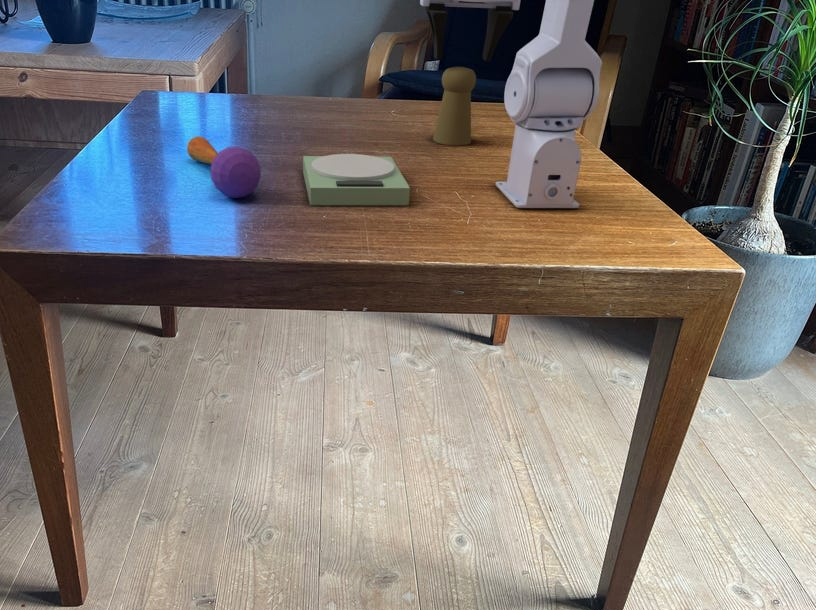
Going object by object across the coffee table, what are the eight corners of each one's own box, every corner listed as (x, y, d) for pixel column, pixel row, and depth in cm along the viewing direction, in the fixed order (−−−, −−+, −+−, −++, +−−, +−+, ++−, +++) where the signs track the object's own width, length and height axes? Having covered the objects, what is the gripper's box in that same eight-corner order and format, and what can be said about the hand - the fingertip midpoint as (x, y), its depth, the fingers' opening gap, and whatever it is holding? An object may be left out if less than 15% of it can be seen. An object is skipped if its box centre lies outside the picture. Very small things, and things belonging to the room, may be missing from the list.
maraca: (222, 129, 102) (270, 154, 86) (217, 172, 105) (263, 204, 88) (179, 123, 100) (221, 148, 83) (175, 168, 102) (215, 200, 86)
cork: (470, 146, 115) (479, 72, 109) (431, 143, 116) (438, 69, 110) (471, 137, 120) (480, 66, 114) (434, 134, 121) (441, 63, 115)
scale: (408, 205, 89) (410, 183, 88) (310, 205, 88) (310, 183, 86) (390, 172, 101) (391, 152, 100) (303, 172, 100) (303, 152, 98)
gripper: (517, -43, 108) (500, 54, 116) (420, -48, 107) (410, 51, 115) (532, -37, 103) (513, 65, 110) (430, -42, 101) (419, 62, 109)
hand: (461, 59), depth 112 cm, fingers open, 7 cm apart
